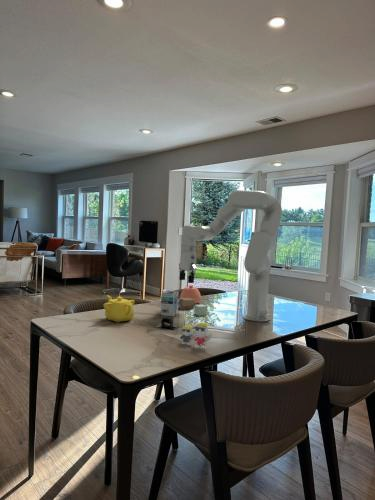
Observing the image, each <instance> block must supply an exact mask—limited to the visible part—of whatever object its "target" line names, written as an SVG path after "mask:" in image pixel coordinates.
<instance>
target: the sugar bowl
mask: <svg viewBox="0 0 375 500" xmlns="http://www.w3.org/2000/svg"><path fill="white" fill-rule="evenodd" d="M179 298H191V299H194V304H195V305H197V304H199V303H201V301H202V294H201V293H200V290H199V289H198V288H197V287H194V285H193V284H189V285H188V286H186V287H184V288H183V289H182V291H181V293H179Z"/></svg>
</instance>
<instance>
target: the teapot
mask: <svg viewBox="0 0 375 500" xmlns="http://www.w3.org/2000/svg"><path fill="white" fill-rule="evenodd" d="M106 296H107V299H108V301H107V302H105V303H103V308H104V315H105V318H106V319H108V320H109V321H113V322H115V323H120V322H129V321H131V320H132V319H133V318H134V315H135V314H134V308H133V307H134V305H135V300H134V299H126V298H123V296H117V297H116V298H114V299H113V298H112V296H111V295H108V294H107V295H106Z"/></svg>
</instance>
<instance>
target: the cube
mask: <svg viewBox="0 0 375 500" xmlns="http://www.w3.org/2000/svg"><path fill="white" fill-rule="evenodd" d="M193 314H194V315H196V316H199V317H200V316H207V314H208V306H207V305H205V304H195V305H194V309H193Z"/></svg>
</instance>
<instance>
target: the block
mask: <svg viewBox="0 0 375 500" xmlns="http://www.w3.org/2000/svg"><path fill="white" fill-rule="evenodd" d="M194 307H195V305H194V299H191V298H180V297H178V309H181V310H185V311H186V310H194Z"/></svg>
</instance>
